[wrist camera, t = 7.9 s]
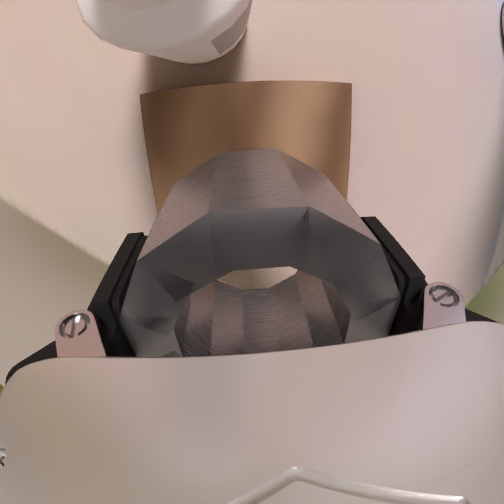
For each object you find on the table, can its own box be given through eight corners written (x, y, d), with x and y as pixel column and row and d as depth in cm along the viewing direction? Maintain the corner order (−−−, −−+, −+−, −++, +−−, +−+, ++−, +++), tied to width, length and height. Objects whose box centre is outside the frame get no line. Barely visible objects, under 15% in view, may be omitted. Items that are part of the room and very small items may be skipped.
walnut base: (344, 82, 19) (351, 83, 17) (337, 230, 25) (342, 238, 24) (145, 93, 19) (139, 94, 17) (168, 240, 25) (165, 250, 24)
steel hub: (351, 148, 10) (423, 203, 6) (334, 305, 14) (365, 392, 10) (143, 160, 10) (85, 224, 6) (178, 316, 14) (163, 408, 10)
